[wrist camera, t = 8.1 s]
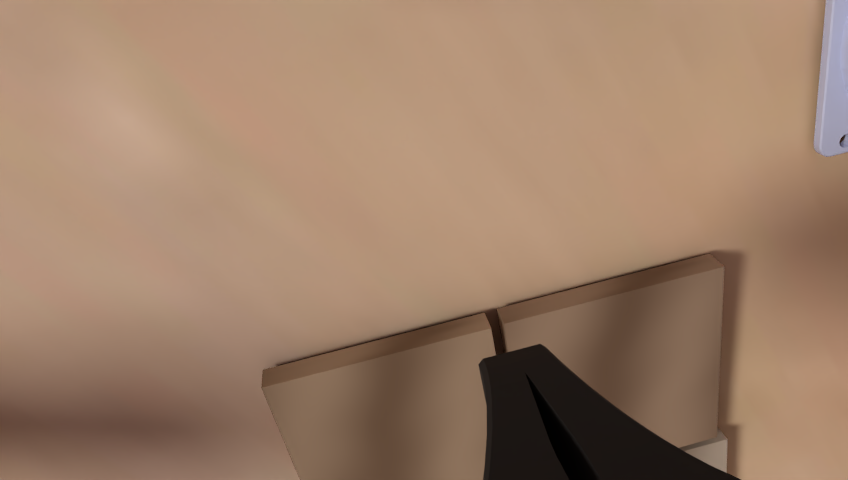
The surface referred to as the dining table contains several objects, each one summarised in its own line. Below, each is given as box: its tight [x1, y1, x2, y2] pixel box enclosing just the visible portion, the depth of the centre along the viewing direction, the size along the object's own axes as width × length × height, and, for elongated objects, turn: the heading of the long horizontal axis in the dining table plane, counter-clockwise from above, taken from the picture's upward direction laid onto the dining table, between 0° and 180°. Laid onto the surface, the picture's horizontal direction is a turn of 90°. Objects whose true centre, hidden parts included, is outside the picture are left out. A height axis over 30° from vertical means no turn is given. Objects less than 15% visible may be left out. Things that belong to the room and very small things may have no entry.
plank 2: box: [497, 254, 724, 448], centre depth 27 cm, size 8×9×1 cm
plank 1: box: [262, 313, 496, 480], centre depth 26 cm, size 8×9×1 cm
